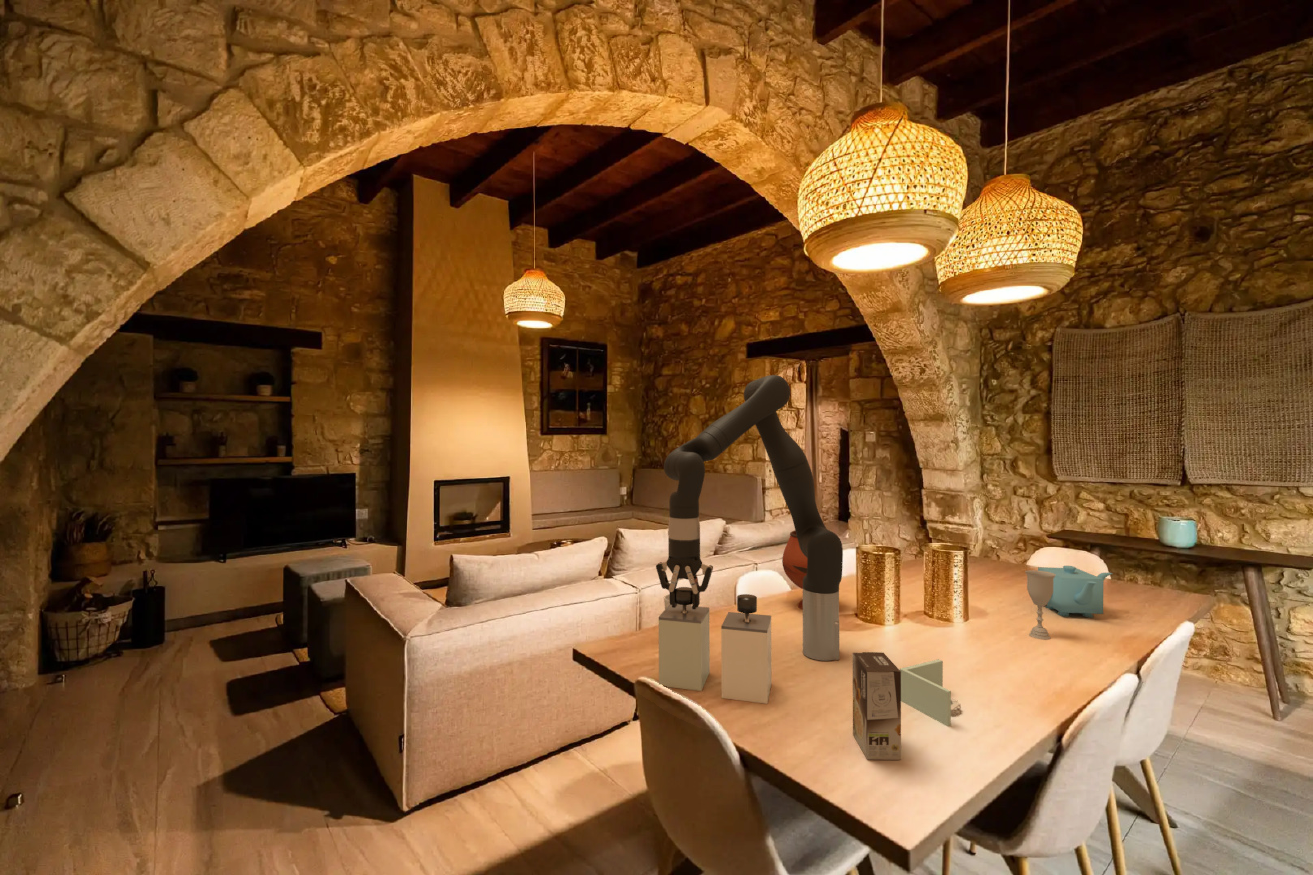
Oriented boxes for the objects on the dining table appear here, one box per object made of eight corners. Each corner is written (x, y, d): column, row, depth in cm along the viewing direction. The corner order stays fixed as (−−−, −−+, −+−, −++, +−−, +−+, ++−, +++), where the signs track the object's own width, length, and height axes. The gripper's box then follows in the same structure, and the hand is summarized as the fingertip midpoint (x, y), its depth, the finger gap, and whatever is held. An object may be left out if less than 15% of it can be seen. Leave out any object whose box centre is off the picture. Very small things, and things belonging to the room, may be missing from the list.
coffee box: (902, 760, 102) (903, 671, 102) (866, 760, 102) (866, 671, 102) (883, 733, 111) (884, 651, 111) (850, 732, 111) (850, 651, 111)
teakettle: (1047, 599, 196) (1047, 557, 195) (1115, 613, 181) (1115, 567, 180) (1025, 611, 184) (1025, 565, 184) (1096, 626, 169) (1096, 577, 169)
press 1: (709, 672, 139) (709, 607, 138) (701, 690, 129) (700, 620, 129) (669, 667, 141) (669, 604, 141) (658, 685, 132) (658, 617, 132)
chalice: (1027, 638, 160) (1027, 574, 160) (1022, 630, 166) (1022, 569, 166) (1058, 642, 157) (1058, 577, 157) (1051, 633, 163) (1052, 571, 163)
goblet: (845, 602, 193) (845, 529, 193) (838, 620, 176) (838, 540, 175) (788, 596, 201) (788, 525, 200) (776, 612, 183) (776, 535, 183)
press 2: (771, 683, 133) (771, 615, 132) (767, 703, 123) (767, 630, 123) (728, 678, 135) (728, 611, 135) (721, 697, 126) (721, 625, 125)
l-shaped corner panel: (947, 729, 113) (947, 691, 113) (899, 702, 124) (899, 668, 124) (988, 716, 118) (988, 680, 118) (938, 691, 129) (938, 659, 129)
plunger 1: (704, 665, 138) (704, 586, 138) (697, 679, 130) (697, 595, 130) (672, 661, 140) (672, 583, 140) (664, 675, 132) (663, 593, 132)
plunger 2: (766, 676, 132) (766, 593, 131) (763, 691, 124) (763, 603, 124) (732, 672, 134) (732, 590, 134) (726, 687, 126) (726, 600, 126)
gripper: (716, 534, 136) (717, 605, 137) (659, 531, 140) (659, 600, 141) (710, 540, 129) (711, 615, 129) (650, 537, 133) (651, 609, 133)
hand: (684, 607), depth 135 cm, fingers closed on plunger 1, 4 cm apart
